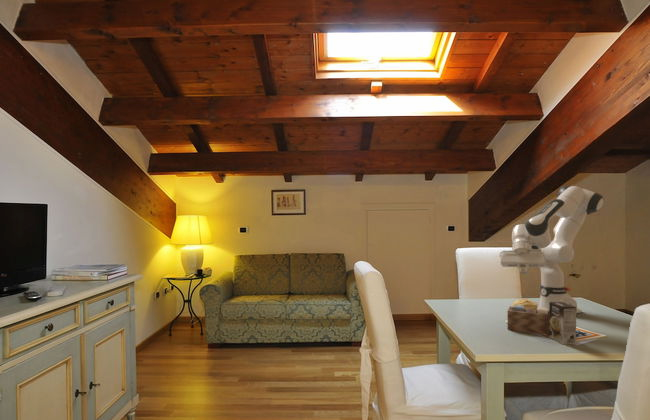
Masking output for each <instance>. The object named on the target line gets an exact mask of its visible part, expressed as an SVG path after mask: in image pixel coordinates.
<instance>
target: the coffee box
mask: <svg viewBox="0 0 650 420" xmlns="http://www.w3.org/2000/svg"><path fill="white" fill-rule="evenodd" d="M549 314H550V335H549V338H550V339H551V340H554V342H555V341H556V342H557V343H559V344H561V345H576V344H577V313H576V307H575V306H572V305H569V304H566V303H563V302H549Z"/></svg>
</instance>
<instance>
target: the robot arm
mask: <svg viewBox="0 0 650 420" xmlns="http://www.w3.org/2000/svg"><path fill="white" fill-rule="evenodd" d="M603 204H604V197H603V195H602V194H600V193H598V192H594V191H592V190H589V189H586V188H581V187H579V186H576V185H562V186H561V187H560V189H559V190H558V192H557V196H556V198H555V199H552V200H551V201H549V202H548V203H547V204H546V205H544V207H542V209H540V210H539V211H538V212H537V213H536V214H534V215H533V216H531V217H530V218H528V219H527V220H526V221H525V223H524V224H523V223H519V224H517V225H515V226H514V227H513V228H512V232H511V242H512V245H511V249H512V250H503V251H500V253H499V258H500V265H501V267H502V268H503V267H504V268H516V269H517V270H518V271H519V274H524V275H525V274H527V272H528V270H529V269H530V268H539V269H540V285H539V287H540V289H539V290H540V297H539V304H538V308H547V309H548V311H549V302H563V303H566V304H569V305H572V306H575V307H576V314H580V313H581V314H582V313H583V310H582V309H580V308H578V303H577V301H576V300H575V299H574V298H573V297H572V296H571V295H569V294H568V293H567V292H570V291H571V288H570V287H569V286H568V287H567V286H566V287H565V282H564V281H565V277H564V275H565V274H564V272H563V270H562V268H560V265H559V264H560V263H561V264H562V263H569V262H571V261H572V260H573V259H574V257H575V249H574V248H573V243H574V241H575V238H576V237H577V234H578V233H579V231H580V229H581V228H582V226H583V224H584V222H585V220H586V217H587V215H591V214H594V213H596V212H598V211H599V210H600V209H601V208H602V207H603ZM554 216H556V217H558V218H559V219H558V222H557V223H556V224H555V226H554V228H553V231H552V233H553V234H554V237H553V239H552V236H551V232H550V227H549V222H550V220H551V219H552V218H554Z"/></svg>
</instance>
